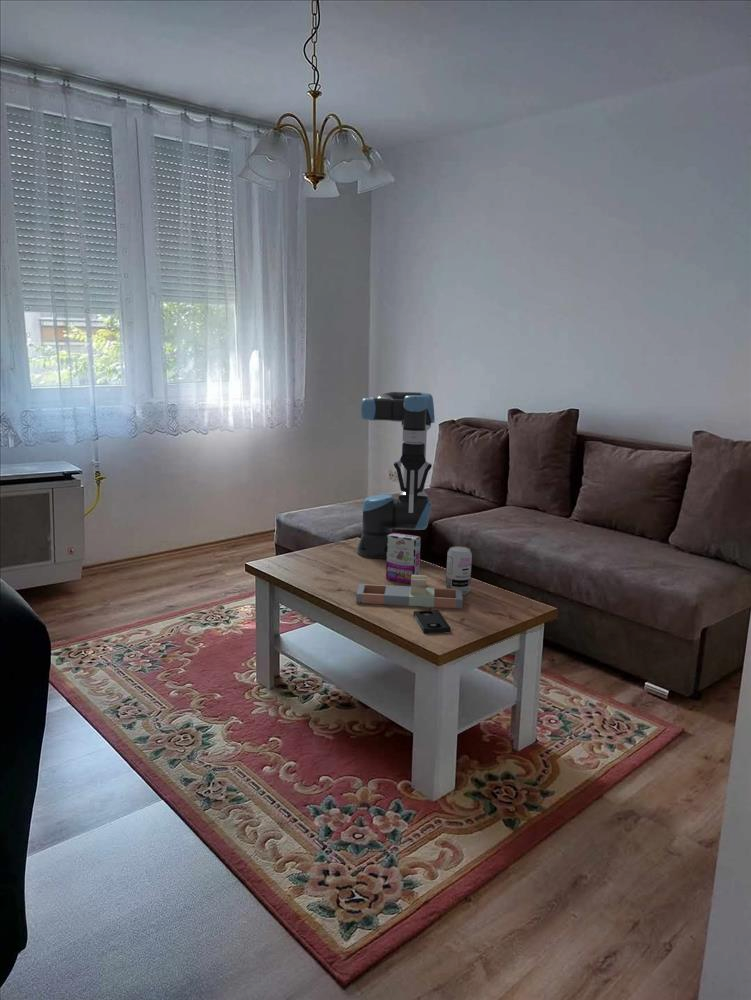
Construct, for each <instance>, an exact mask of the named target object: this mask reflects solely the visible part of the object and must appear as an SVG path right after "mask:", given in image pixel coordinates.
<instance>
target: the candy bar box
mask: <svg viewBox="0 0 751 1000" xmlns="http://www.w3.org/2000/svg"><path fill="white" fill-rule="evenodd" d="M421 538H422V537H421V536H418V535H413V534H405V533H399V532H398V533H397V532H391V534H389V535H387V558H386V568H385V569H386V570H385V579H386V580H387V581H393V582H397V583H403V584H404V583H405V584H408V585H409V584H410V585H411V575H420V572H421V571H420V565H421V564H420V563H421V542H422V539H421Z"/></svg>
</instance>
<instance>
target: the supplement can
mask: <svg viewBox="0 0 751 1000" xmlns="http://www.w3.org/2000/svg"><path fill="white" fill-rule="evenodd" d="M446 555H447V557H446V576H445V588H447V589H462V596H464V595H467V594H468V593H469V592H470V590H471V576H472V574H471V573H472V561H473V559H472V557H473V553H472V551H471V549H470V548H468V547H467V546H458V545H457V546H451V547H449V549H448V550H447V554H446Z"/></svg>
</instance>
